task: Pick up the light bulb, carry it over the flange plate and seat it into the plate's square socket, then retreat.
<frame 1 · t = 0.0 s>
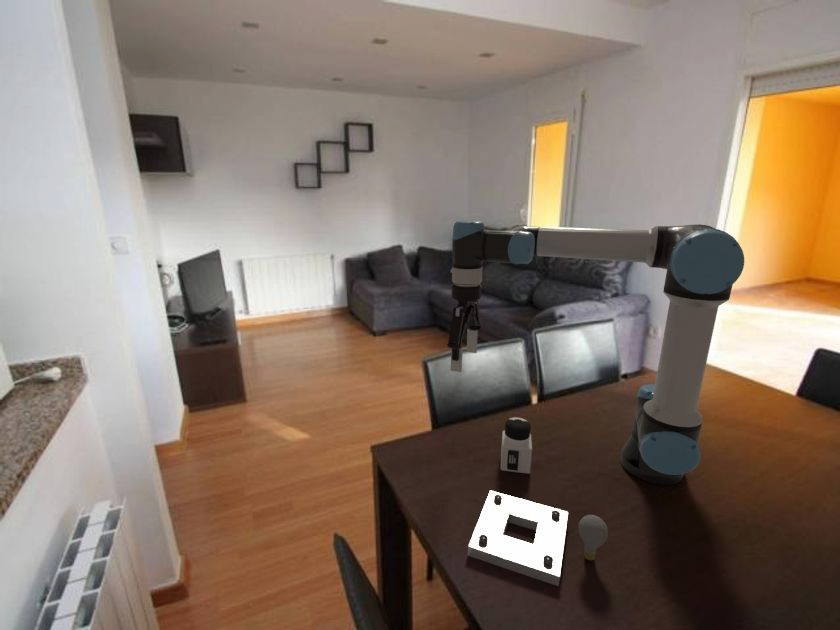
hand: (464, 361, 114), 28 cm above the table, fingers open, 13 cm apart
light bulb: (588, 559, 87), on the table
flange: (519, 537, 92), on the table
container: (515, 464, 117), on the table
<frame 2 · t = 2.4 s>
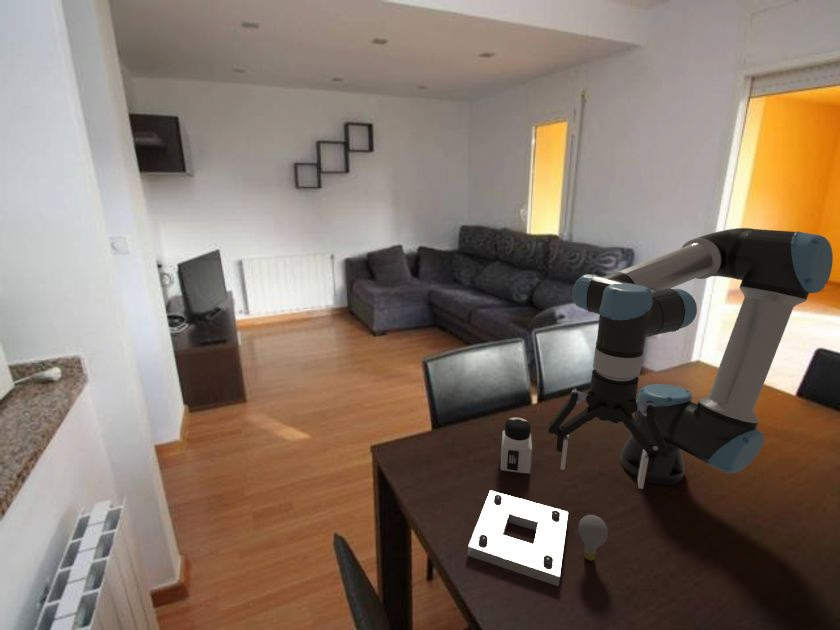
hand: (600, 474, 81), 20 cm above the table, fingers open, 13 cm apart
nothing on the table moved.
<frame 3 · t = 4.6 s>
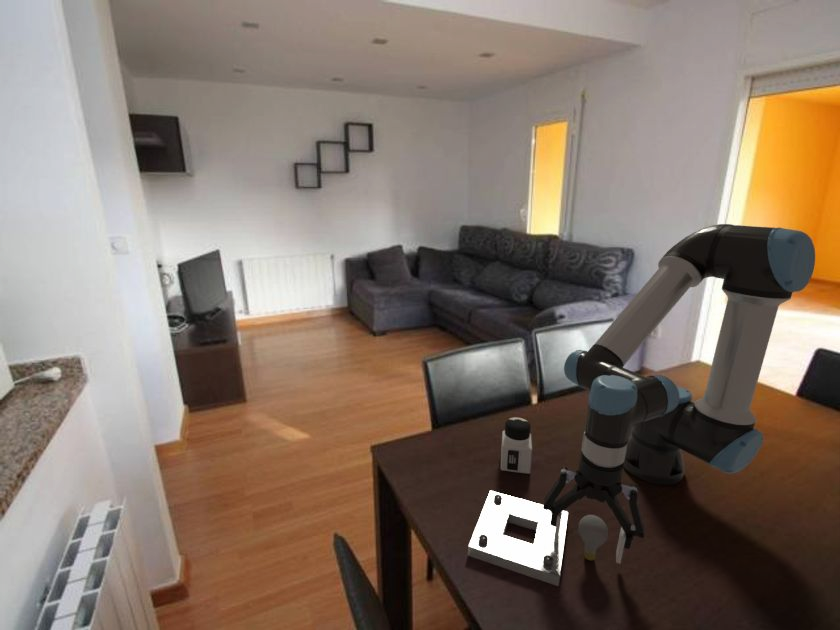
hand: (586, 547, 87), 2 cm above the table, fingers open, 11 cm apart
nothing on the table moved.
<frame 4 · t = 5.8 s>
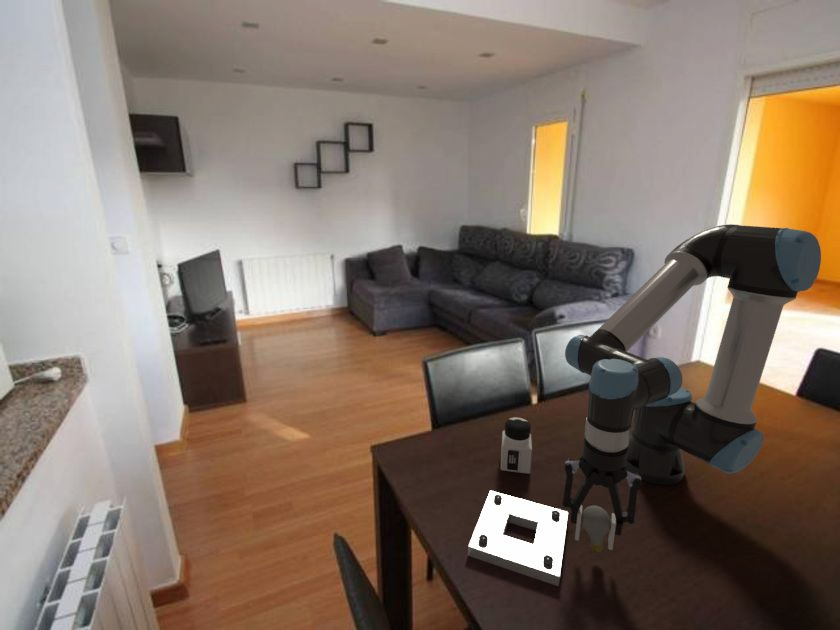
hand: (593, 539, 86), 4 cm above the table, fingers closed on light bulb, 5 cm apart
light bulb: (596, 551, 87), point 2 cm above the table, touching gripper
everything else where it was.
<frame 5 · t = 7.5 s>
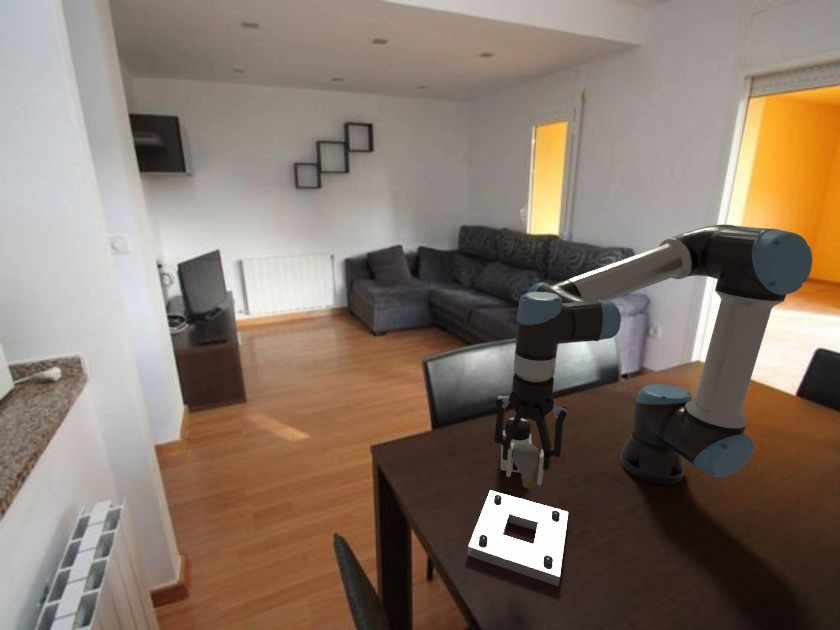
hand: (524, 476, 88), 16 cm above the table, fingers closed on light bulb, 5 cm apart
light bulb: (527, 488, 88), point 13 cm above the table, touching gripper
everything else where it was.
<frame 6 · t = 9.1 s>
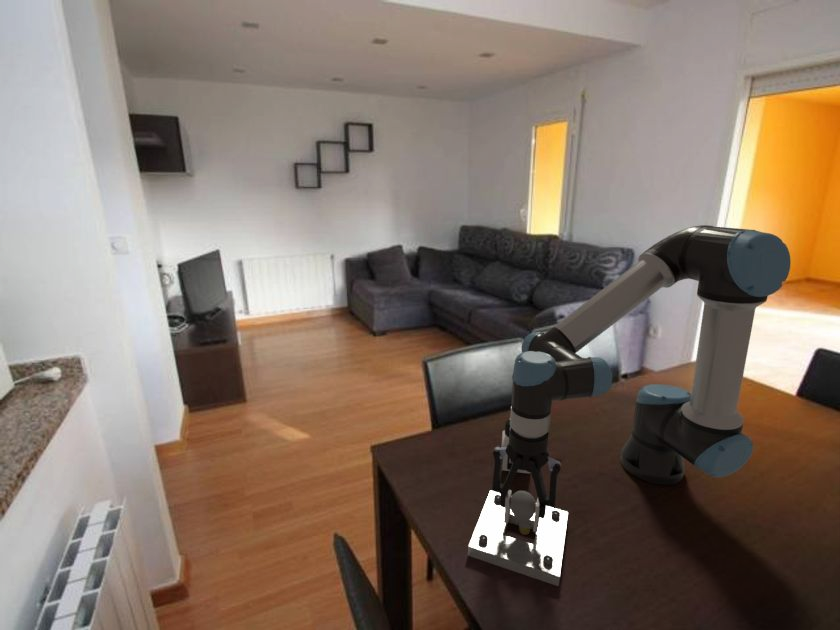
hand: (521, 523, 91), 4 cm above the table, fingers closed on light bulb, 5 cm apart
light bulb: (524, 534, 92), point 1 cm above the table, touching gripper
everything else where it was.
when the fingers open (4 cm above the table, at t = 9.2 s): light bulb drops 1 cm, resting in flange.
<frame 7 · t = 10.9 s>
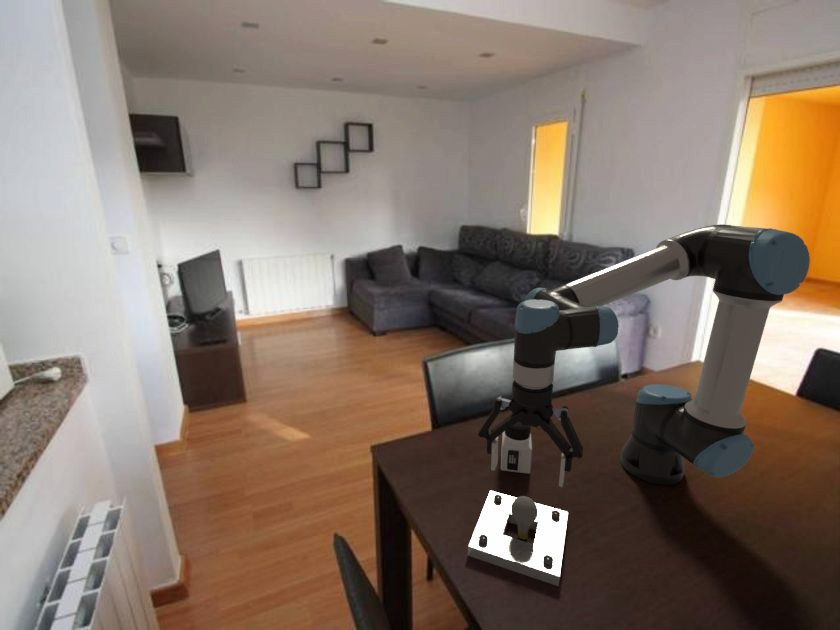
hand: (526, 474, 88), 16 cm above the table, fingers open, 13 cm apart
light bulb: (522, 538, 92), resting in flange
everything else where it was.
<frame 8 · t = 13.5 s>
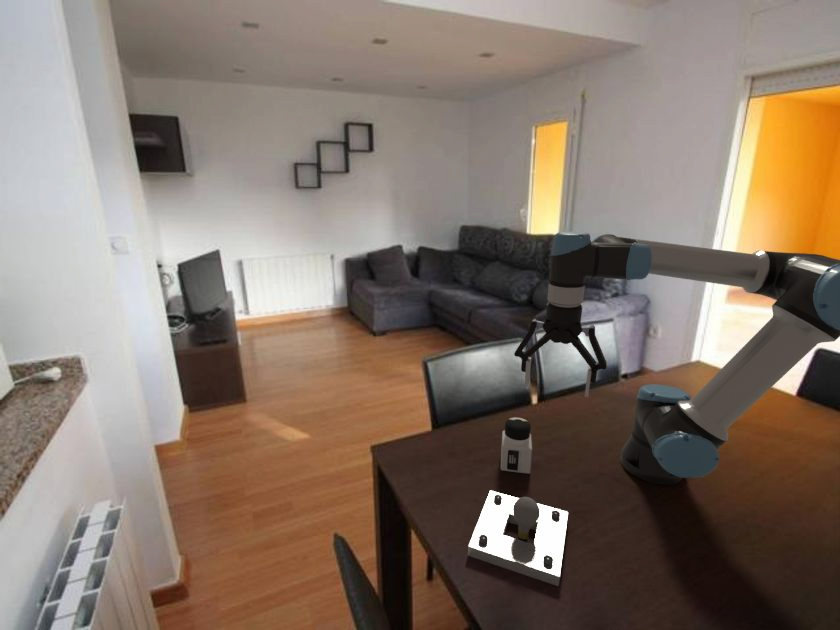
hand: (556, 389, 101), 27 cm above the table, fingers open, 13 cm apart
nothing on the table moved.
at the end: light bulb 0.5 cm off-centre on the flange, point 0.0 cm above the flange's base; light bulb tilted 2°; the gripper is holding nothing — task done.
